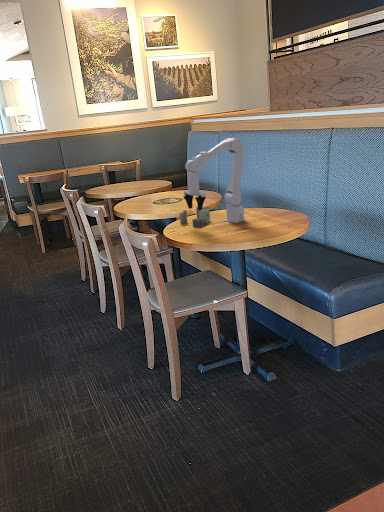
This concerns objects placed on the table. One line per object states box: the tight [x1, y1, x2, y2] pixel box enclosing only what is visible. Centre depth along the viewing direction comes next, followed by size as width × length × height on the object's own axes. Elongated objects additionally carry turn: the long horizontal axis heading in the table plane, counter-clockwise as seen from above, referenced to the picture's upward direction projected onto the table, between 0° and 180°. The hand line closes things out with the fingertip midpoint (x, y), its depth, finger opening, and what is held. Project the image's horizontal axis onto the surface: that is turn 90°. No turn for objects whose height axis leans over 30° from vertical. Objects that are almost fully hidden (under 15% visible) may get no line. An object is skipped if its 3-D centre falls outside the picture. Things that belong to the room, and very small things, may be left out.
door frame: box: [179, 205, 208, 225], centre depth 253 cm, size 2×20×7 cm, turn 133°
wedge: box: [192, 217, 210, 228], centre depth 241 cm, size 8×4×4 cm, turn 132°
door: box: [198, 209, 211, 222], centre depth 251 cm, size 2×9×6 cm, turn 42°
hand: (195, 209), depth 237 cm, fingers open, 7 cm apart
